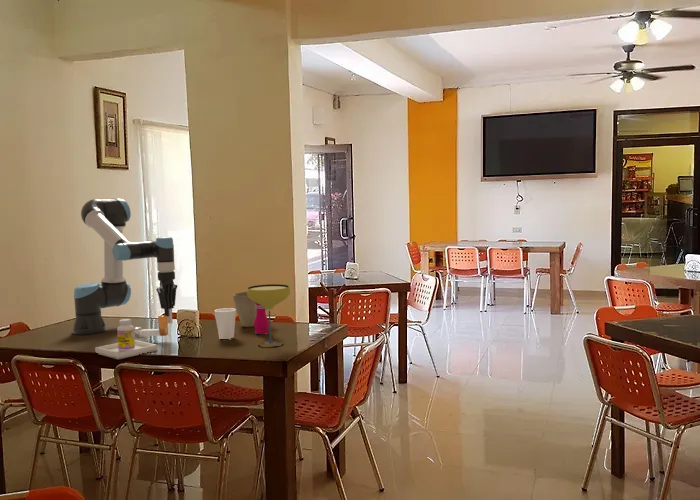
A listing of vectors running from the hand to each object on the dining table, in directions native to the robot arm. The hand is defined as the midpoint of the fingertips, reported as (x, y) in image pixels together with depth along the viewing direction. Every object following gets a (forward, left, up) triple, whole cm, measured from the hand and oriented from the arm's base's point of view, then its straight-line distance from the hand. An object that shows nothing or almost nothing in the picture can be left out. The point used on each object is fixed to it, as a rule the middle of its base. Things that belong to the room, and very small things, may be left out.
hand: (168, 322), depth 298 cm
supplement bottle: (+6, -25, -7) cm, 27 cm away
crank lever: (-3, -8, -5) cm, 10 cm away
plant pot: (+7, +42, -8) cm, 43 cm away
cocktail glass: (+48, +18, -8) cm, 51 cm away
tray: (+6, -25, -8) cm, 27 cm away
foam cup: (+21, +16, -8) cm, 27 cm away
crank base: (-7, -12, -8) cm, 16 cm away
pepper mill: (+27, +32, -8) cm, 42 cm away
